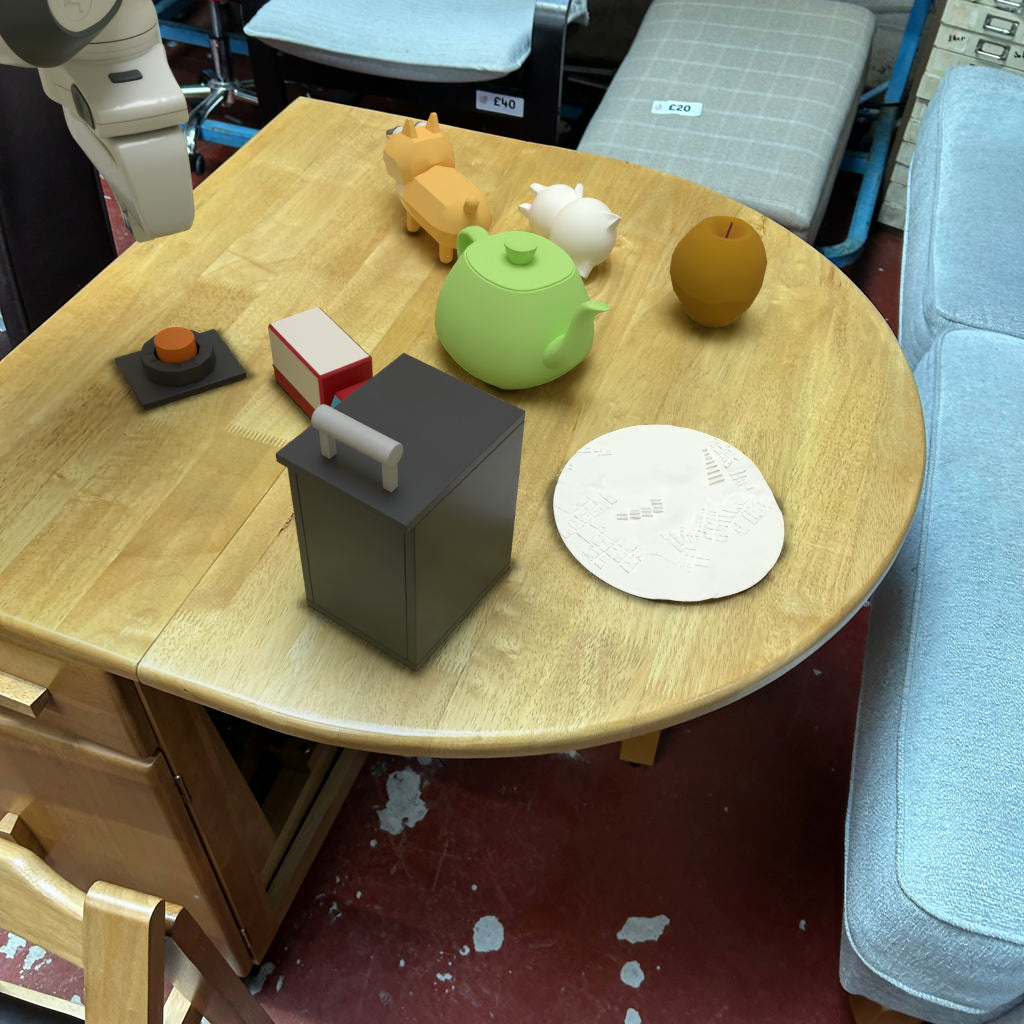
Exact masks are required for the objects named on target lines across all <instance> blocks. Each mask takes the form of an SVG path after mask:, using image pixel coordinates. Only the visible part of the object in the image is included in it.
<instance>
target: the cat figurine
mask: <svg viewBox="0 0 1024 1024" xmlns="http://www.w3.org/2000/svg"><path fill="white" fill-rule="evenodd" d="M584 190H585V187H584V184H583V183H579V182H577V184H576V185H575V188H573V187H571V186H569V185H567V184H562V183H557V184H552V185H549V186H545V185H542V184H541V183H538V182H533V183H532V184H530V185H529V191H530V192H531V194H532V195H533V196H534V200H533V202H532V203H530V202H529V203H528V202H524V203H521V204H519V205H518V211H519V213H520V214H521V215H523V217H525V218H526V219H527V220H528V225H529V229H530V230H531V233H534V234H537V235H539V236H542V237H544V238H546V239H548V240H550V241H552V242H553V243H555V244H556V245H558V246H559V247H560V248H562V249H563V250H564V251H565V252H566V253H567V254H568V255H569V256H570V258H571V259H572V261H573V262H574V264H575V266H576V268H577V269H578V272H579V274H580V276H581V278H582V279H587V278H588V277H589V276H590V274H591V272H592V271H593V269H594V268H595V267H596V266H598V265H600V264H601V263H602V262H604V261H605V260H606V259H607V258H608V257H609V256H610V254H612V252H613V250H614V248H615V245H616V241H617V237H618V235H617V234H618V231H617V227H618V225H619V224H620V222H621V220H622V217H621V216H620V215H619V214H616V213H613V212H612V210H611V209H610V208H609V207H608V206H607V205H606V203H604V202H603V201H601V200H599V199H597V198H593V197H584Z"/></svg>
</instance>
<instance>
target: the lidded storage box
mask: <svg viewBox="0 0 1024 1024" xmlns="http://www.w3.org/2000/svg"><path fill="white" fill-rule="evenodd" d="M525 420H526V419H525ZM525 420H524V421H523V422H522V423H520V424H519V425H518V426H517V427H516V428H515V429H514V430H513V431H512V432H511V433H510V434H509V435H508V436H507V437H506V438H505V439H504V440H503V441H502V442H501V443H500V444H499V445H498V446H497V447H496V448H495V449H494V450H493V451H492V452H491V453H490V454H489V455H488V456H487V457H486V458H485V459H483V460H482V461H481V462H480V463H479V464H478V465H477V466H476V467H475V468H474V469H473V470H472V471H471V472H470V473H469V474H468V475H467V476H466V477H465V478H464V479H463V480H462V481H461V482H460V483H459V484H458V485H457V486H456V487H455V488H454V489H453V490H452V491H451V492H450V493H449V494H447V495H446V496H445V497H444V498H443V499H442V500H441V501H440V502H439V503H438V504H437V505H436V506H435V507H434V508H433V509H432V510H431V511H430V512H429V513H428V514H427V515H426V516H425V517H424V518H423V519H422V520H421V521H420V522H419V523H418V524H417V525H416V526H415V527H414V528H413V529H412V530H410V531H409V532H408V533H407V534H405V533H403V532H402V531H400V530H398V529H396V528H395V527H393V526H391V525H389V524H387V523H386V522H384V521H382V520H380V519H378V518H377V517H375V516H373V515H371V514H369V513H368V512H366V511H364V510H362V509H360V508H359V507H357V506H355V505H353V504H352V503H350V502H348V501H346V500H344V499H343V498H341V497H339V496H337V495H335V494H334V493H332V492H330V491H328V490H326V489H325V488H323V487H321V486H319V485H317V484H316V483H314V482H312V481H310V480H308V479H307V478H305V477H303V476H301V475H300V474H298V473H296V472H294V471H292V470H291V469H289V468H287V467H286V468H287V475H288V482H289V488H290V489H289V490H290V495H291V503H292V510H293V516H294V517H293V518H294V523H295V530H296V536H297V543H298V544H297V545H298V550H299V557H300V563H301V571H302V579H303V585H304V591H305V592H304V593H305V598H306V599H305V600H306V604H307V606H309V607H311V608H312V609H314V610H316V611H317V612H319V613H320V614H321V615H323V616H325V617H327V618H328V619H330V620H332V621H334V622H335V623H336V624H338V625H340V626H342V627H343V628H345V629H347V630H348V631H349V632H351V633H353V634H355V635H356V636H358V637H359V638H361V639H363V640H364V641H366V642H368V643H369V644H370V645H372V646H374V647H376V648H377V649H378V650H380V651H382V652H384V653H385V654H387V655H388V656H390V657H392V658H393V659H395V660H397V661H398V662H400V663H402V664H403V665H405V666H407V667H408V668H410V669H411V670H413V671H415V672H418V671H419V670H420V668H421V667H422V666H423V665H424V664H425V663H426V661H427V660H428V659H429V658H430V657H431V656H432V655H433V654H434V653H435V652H436V650H437V649H438V648H439V647H440V646H441V645H442V644H443V643H444V641H445V640H446V639H447V638H448V637H449V636H450V635H451V634H452V633H453V631H454V630H455V629H456V628H457V627H458V626H459V625H460V623H461V622H462V621H464V619H466V617H467V616H468V614H469V613H470V612H471V611H472V610H473V609H474V608H475V606H476V605H477V604H479V602H480V601H481V600H482V599H483V598H484V596H485V595H487V593H488V592H490V590H491V589H492V588H493V586H494V585H495V584H496V583H497V582H498V581H499V580H500V578H502V576H503V575H504V574H505V573H506V572H507V571H508V570H509V568H510V567H511V563H512V562H511V560H512V551H513V543H514V534H515V533H514V531H515V524H516V523H515V521H516V514H517V513H516V512H517V502H518V492H519V483H520V473H521V462H522V453H523V442H524V441H523V440H524V433H525Z"/></svg>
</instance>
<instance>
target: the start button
mask: <svg viewBox="0 0 1024 1024" xmlns="http://www.w3.org/2000/svg"><path fill="white" fill-rule="evenodd" d="M190 330H191V329H190V328H187V327H183V326H170V327H165V328H164V329H161V330H160V331H158V332H157V333H156V334H155V335H156V336H155V335H154V336H155V338H154V343H155V347H156V351H157V355H158V358H159V359H160V360H161V361H162V362H165V363H182V362H185V361H189V360H191V359H192V358H194V357H195V356H196V354H197V347H196V343H195V338H194V334H193V333H192V331H190Z"/></svg>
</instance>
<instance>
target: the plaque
mask: <svg viewBox="0 0 1024 1024" xmlns="http://www.w3.org/2000/svg"><path fill="white" fill-rule="evenodd" d="M552 505H553V506H552V507H553V515H554V520H555V521H554V522H555V525H556V527H557V531H558V533H559V535H560V537H561V539H562V541H563V543H564V544H565V546H566V547H567V549H568V550H569V552H570V554H572V556H573V557H574V558H575V559H576V560H577V561H578V562H579V563H580V564H581V565H582V566H583V567H584V568H585V569H586V570H588V571H589V572H590V573H591V574H593V575H594V576H596V577H597V578H598V579H600V580H602V581H603V582H605V583H606V584H608V585H610V586H612V587H614V588H616V589H618V590H620V591H622V592H624V593H627V594H630V595H633V596H636V597H639V598H644V599H650V600H670V601H678V602H700V601H705V600H709V599H719V598H723V597H727V596H731V595H734V594H737V593H740V592H743V591H745V590H747V589H749V588H751V587H753V586H754V585H756V584H757V583H759V582H760V581H762V579H763V578H764V577H765V576H766V575H767V574H768V573H769V572H770V571H771V569H772V568H773V567H774V565H775V564H776V563H777V561H778V559H779V557H780V555H781V552H782V550H783V546H784V541H785V521H784V517H783V513H782V511H781V509H780V507H779V505H778V503H777V501H776V498H775V496H774V493H773V491H772V489H771V487H770V486H769V485H768V483H767V481H766V479H765V477H764V476H763V474H762V472H761V471H760V469H759V468H758V466H757V465H756V463H754V461H752V460H751V459H750V458H749V457H748V456H747V455H745V454H744V453H743V452H742V451H741V450H739V449H738V448H736V447H735V446H733V445H732V444H730V443H729V442H726V441H725V440H722V439H721V438H719V437H715V436H713V435H711V434H708V433H706V432H703V431H700V430H696V429H693V428H688V427H681V426H676V425H672V424H638V425H632V426H627V427H622V428H619V429H616V430H613V431H609V432H607V433H604V434H602V435H600V436H597V437H596V438H593V440H591V441H589V442H587V443H586V444H585V445H583V446H582V447H581V448H580V449H579V450H577V452H576V453H574V455H572V457H571V458H570V459H569V460H568V461H567V463H566V464H565V465H564V467H563V469H562V471H561V473H560V474H559V476H558V480H557V482H556V485H555V489H554V492H553V501H552Z"/></svg>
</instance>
